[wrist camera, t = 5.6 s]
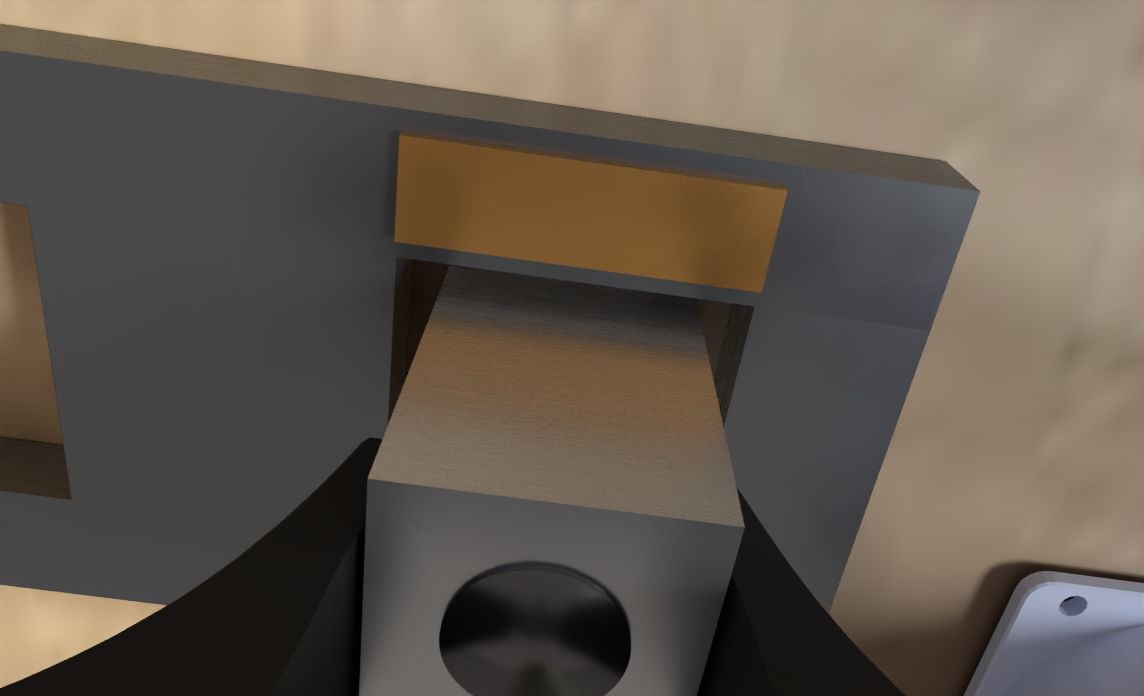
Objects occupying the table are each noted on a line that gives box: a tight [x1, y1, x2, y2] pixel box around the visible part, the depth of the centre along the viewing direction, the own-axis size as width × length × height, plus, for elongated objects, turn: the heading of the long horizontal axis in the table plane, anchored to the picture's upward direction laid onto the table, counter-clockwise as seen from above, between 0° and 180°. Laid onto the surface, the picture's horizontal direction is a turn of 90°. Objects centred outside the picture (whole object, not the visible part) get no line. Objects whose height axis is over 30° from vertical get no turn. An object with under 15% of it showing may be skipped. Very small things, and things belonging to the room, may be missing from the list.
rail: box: [0, 24, 980, 613], centre depth 16 cm, size 22×10×2 cm, turn 82°
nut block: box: [359, 264, 745, 696], centre depth 13 cm, size 4×4×6 cm
